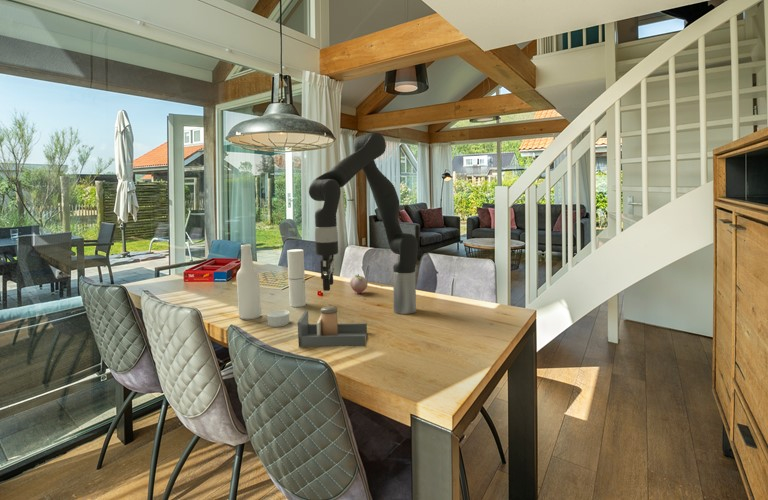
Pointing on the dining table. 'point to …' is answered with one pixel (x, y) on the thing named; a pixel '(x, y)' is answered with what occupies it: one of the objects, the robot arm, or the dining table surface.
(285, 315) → the ramekin
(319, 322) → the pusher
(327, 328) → the jar
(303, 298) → the cylindrical container
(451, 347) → the dining table surface
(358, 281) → the decorative fruit
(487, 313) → the dining table surface
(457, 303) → the dining table surface
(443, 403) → the dining table surface
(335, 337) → the lane
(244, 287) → the alcohol
